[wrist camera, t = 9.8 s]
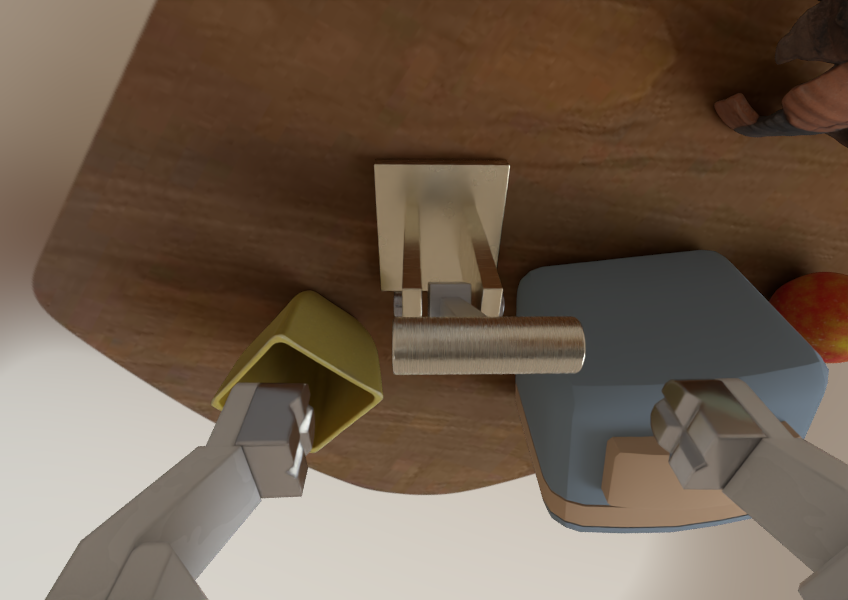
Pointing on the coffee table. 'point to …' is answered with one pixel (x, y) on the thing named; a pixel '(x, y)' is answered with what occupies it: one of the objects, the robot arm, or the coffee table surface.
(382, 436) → the coffee table surface
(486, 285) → the bracket
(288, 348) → the flower pot
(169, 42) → the coffee table surface
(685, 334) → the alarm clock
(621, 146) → the coffee table surface
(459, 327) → the lever
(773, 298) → the fruit
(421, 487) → the coffee table surface
